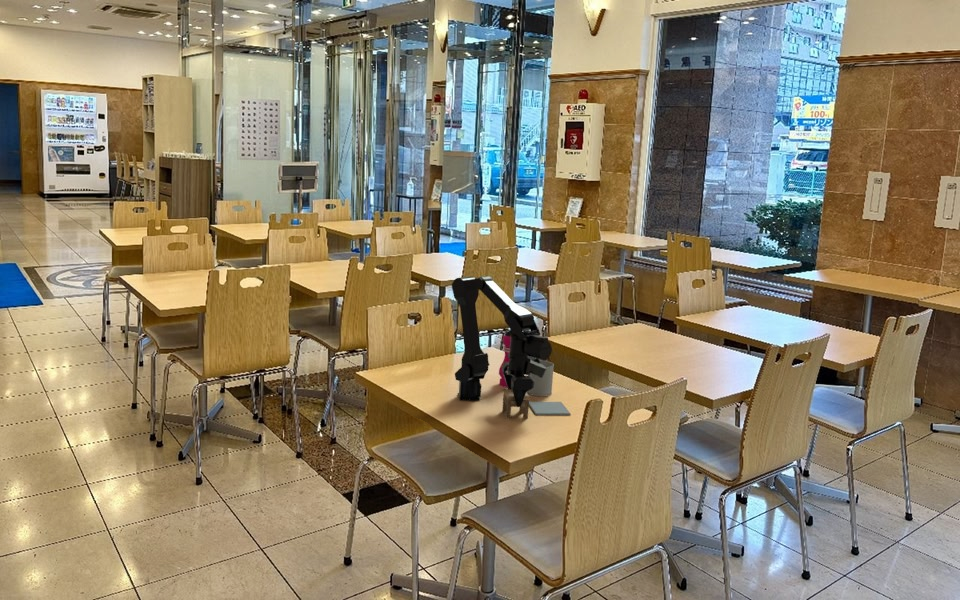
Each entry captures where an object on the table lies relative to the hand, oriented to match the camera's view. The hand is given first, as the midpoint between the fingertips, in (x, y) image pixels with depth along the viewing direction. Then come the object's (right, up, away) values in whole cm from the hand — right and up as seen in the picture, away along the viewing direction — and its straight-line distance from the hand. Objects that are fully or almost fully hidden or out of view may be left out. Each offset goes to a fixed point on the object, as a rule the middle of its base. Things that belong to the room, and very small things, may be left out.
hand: (515, 401), depth 237 cm
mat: (+11, -3, +8) cm, 14 cm away
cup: (+9, 0, +24) cm, 26 cm away
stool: (0, -4, +1) cm, 4 cm away
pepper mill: (-1, +2, +30) cm, 30 cm away
